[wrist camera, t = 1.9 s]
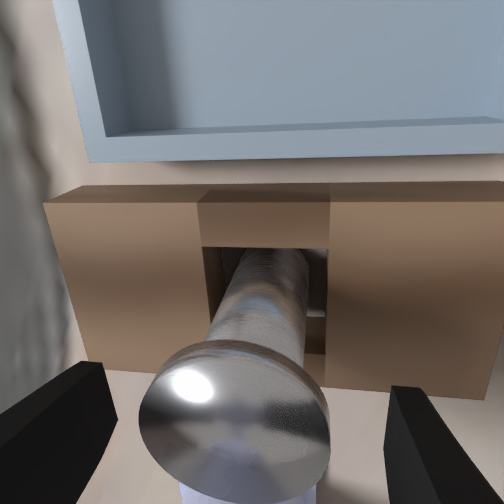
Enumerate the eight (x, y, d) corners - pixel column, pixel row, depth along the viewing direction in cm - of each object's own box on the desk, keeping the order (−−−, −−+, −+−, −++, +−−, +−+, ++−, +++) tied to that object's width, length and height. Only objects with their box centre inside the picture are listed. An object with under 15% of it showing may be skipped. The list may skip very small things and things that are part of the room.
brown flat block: (461, 355, 16) (483, 400, 14) (118, 334, 19) (90, 368, 17) (499, 180, 13) (536, 201, 11) (82, 185, 16) (42, 203, 14)
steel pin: (325, 317, 17) (327, 516, 9) (227, 312, 17) (154, 492, 10) (328, 222, 15) (334, 372, 7) (219, 222, 16) (122, 356, 8)
